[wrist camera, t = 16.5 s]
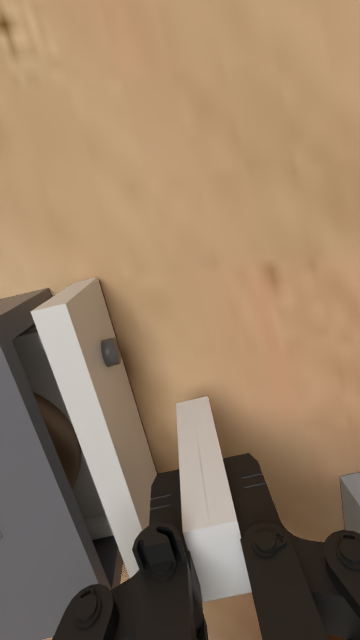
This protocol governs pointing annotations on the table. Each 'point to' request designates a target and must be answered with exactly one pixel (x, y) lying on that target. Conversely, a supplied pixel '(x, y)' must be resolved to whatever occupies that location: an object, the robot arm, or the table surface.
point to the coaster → (61, 438)
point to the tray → (93, 410)
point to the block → (351, 501)
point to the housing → (38, 504)
